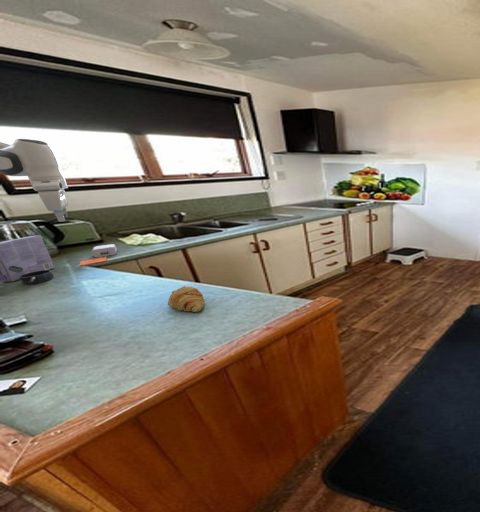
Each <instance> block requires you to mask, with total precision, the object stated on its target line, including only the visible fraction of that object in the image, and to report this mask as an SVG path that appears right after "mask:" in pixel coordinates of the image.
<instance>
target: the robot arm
mask: <svg viewBox="0 0 480 512" xmlns="http://www.w3.org/2000/svg"><path fill="white" fill-rule="evenodd" d="M60 168H61V164H60V161H59V160H58V158H57V156H56V154H55V152H54V150H53V148H52V147H51V146H50V145H49V144H48V143H47V142H45V141H43V140H36V139H31V138H30V139H29V138H17V139H15V140H14V141H13V143H12V144H8V143H6V142H5V143H4V142H1V141H0V174H1V175H3V176H7V177H8V176H9V177H27V178H28V180H29V183H30V185H31V187H32V189H33V190H34V191H35V192H37V194H38V195H39V197H40V200H41V201H42V203H43V205H44V206H45V209H47V211H49V212H53V214H54V216H55V217H56V219H57V221H58V222H60V223H61V222H66V219H68V218H69V215H68V211H67V207H68V205H69V204H68V201H67V198H66V196H65V193H66V191H65V189H69V186H68V184H67V181H66V178H65V177H64V174H63V172H61V170H60Z"/></svg>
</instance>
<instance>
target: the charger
mask: <svg viewBox="0 0 480 512" xmlns="http://www.w3.org/2000/svg"><path fill="white" fill-rule="evenodd" d="M117 251H118V249H117V246H116V244H115V243H111V244H101V245H97V246H94V247H92V250H91V253H92V255H93V257H94V258H101V257H103V256H104V257H108V256H109V255H110V256H114V255H116V254H117Z"/></svg>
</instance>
